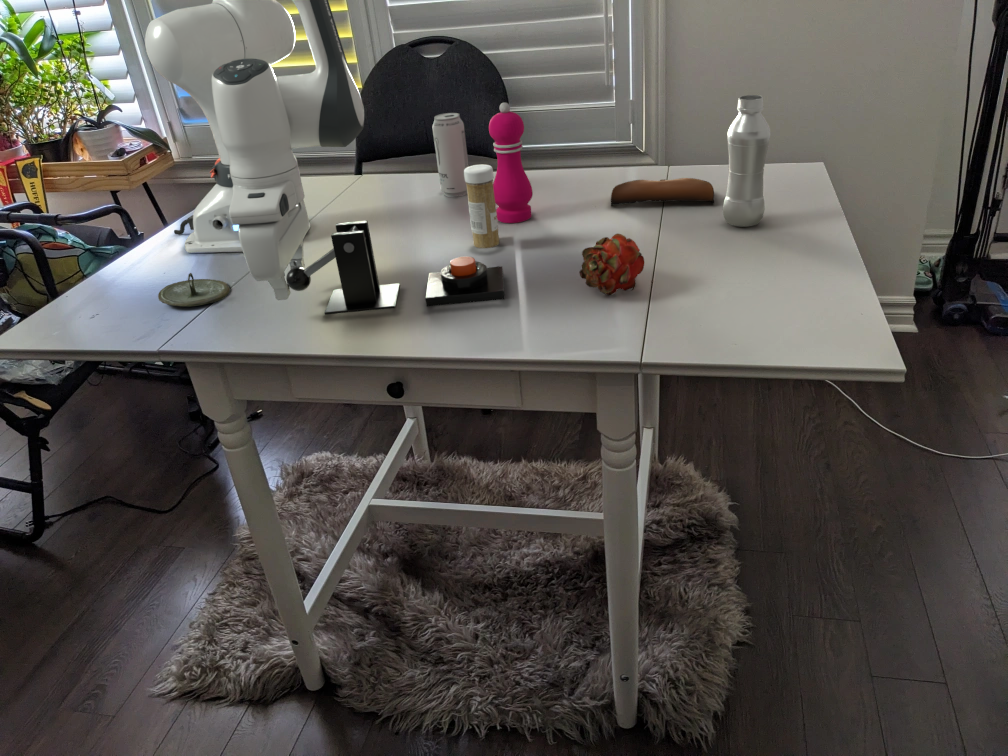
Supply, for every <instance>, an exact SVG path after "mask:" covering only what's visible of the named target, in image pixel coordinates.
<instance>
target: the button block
mask: <svg viewBox="0 0 1008 756" xmlns="http://www.w3.org/2000/svg"><path fill="white" fill-rule="evenodd" d="M475 263H476V272H475V273H473V274H470V275H466V276H455V275H452V274H451V267H450V264H447V265H446V266H444V267H443V268H442V269H441V270H440V271H437V272H429V273H428V276H427V277H428V278H427V284H426V292H425V299H424V300H425V305H426V307H427V308H429V307H438V306H448V305H459V304H460V305H461V304H470V303H478V302H479V303H480V302H490V301H501V300H505V281H504V269H503V268H504V267H503V266H489V267H487V265H486V264H484V263H483V262H480V261H475Z"/></svg>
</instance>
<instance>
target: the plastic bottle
mask: <svg viewBox="0 0 1008 756" xmlns="http://www.w3.org/2000/svg"><path fill="white" fill-rule="evenodd" d="M764 107H765V106H764V96H763V95H761V94H745V95H740V96H739V97H738V99H737V107H736V111H737V112H738V114H737V116H736V117H735V118H734V119H733V121H732V122H731V124H730V126H729V127H728V130H727V132H726V134H727V136H726V137H727V139H726V140H727V150H728V167H729V168H728V177H727V186H726V193H725V196H724V199H723V205H722V214H723V219H724V220H725V222H726V223H727V224H728V225H731V226H735V227H741V228H742V227H743V228H744V227H753V226H756V225H758V224H759V223H760V222H761V221H762V220H763V217H764V214H765V210H766V207H765V196H764V172H765V167H766V166H765V164H766V158H767V152H768V149H769V145H770V144H769V143H770V139H771V135H772V134H771V133H772V132H771V127H770V125H769V123H768V122H767V120H766V118H765V117H764V115H763V114H762V111H764Z"/></svg>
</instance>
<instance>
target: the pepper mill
mask: <svg viewBox="0 0 1008 756" xmlns="http://www.w3.org/2000/svg"><path fill="white" fill-rule="evenodd" d="M510 110H511V106H510V104H509V103H508V102H502V103H500V105H499V111H500V112H498V113H496V114H495V115H493V116H492V117H491V118H490V120H489V124H488V131H489V136H490V137H491V138H492V139H493V140H494V142H493V144H492V145H493V152H494V153H496V158H497V160H496V161H497V168H496V173H495V176H494V178H493V189H494V198H495V204H496V206H498V207H496V213H497V222H500V223H503V224H518V223H523V222H526V221H529V220H530V219H531V218H532V216H533V215H532V206H531V205H530V204H529V203H530V202H531V200H532V198H533V195H534V194H533V193H534V191H533V187H532V184H531V181H530V178H529V177H528V175H527V174H526V171H525V169H524V166H523V163H522V157H521V156H522V155H521V151H522V150H523V148H524V146H523V140H522V139H521V137H522V136H523V134H524V132H525V124H524V120H523V119H522V117H521V116H520V115H519V114H518V113H516V112H514V111H510Z"/></svg>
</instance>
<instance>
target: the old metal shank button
mask: <svg viewBox="0 0 1008 756" xmlns="http://www.w3.org/2000/svg"><path fill="white" fill-rule="evenodd" d="M230 291H231V288H230V287H229V285H228V283H227V282H226V281H223V280H220V279H219V280H218V279H210V278H197V279H195V278H194V275H193V273H192V272H189V273H188V276H187V279H186V280H181V281H177V282H174V283H173V282H172V283H171V284H170V283H169V284H168V285H165V286H164V287H163V288H161V290H160V291H159V292H158V294H157V299H158V301H159V302H161V303H162V304H165V305H168V306H174V307H197V306H198V307H199V306H203V305H208V304H212V303H216V302H219V301H221V300H223V299H225V298H226V297H227V296H229V294H230Z"/></svg>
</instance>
